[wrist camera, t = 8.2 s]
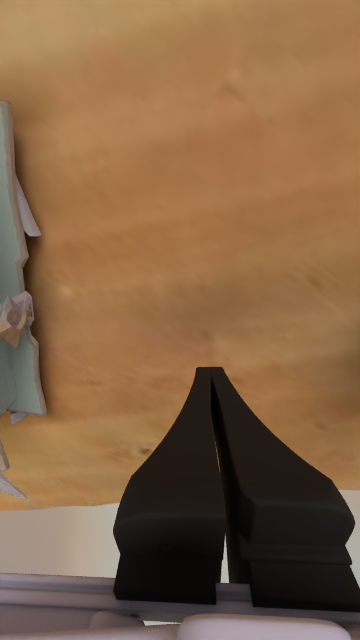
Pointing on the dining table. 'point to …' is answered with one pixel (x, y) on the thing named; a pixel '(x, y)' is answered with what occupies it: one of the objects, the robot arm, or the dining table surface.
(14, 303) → the ornate book
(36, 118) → the dining table surface
